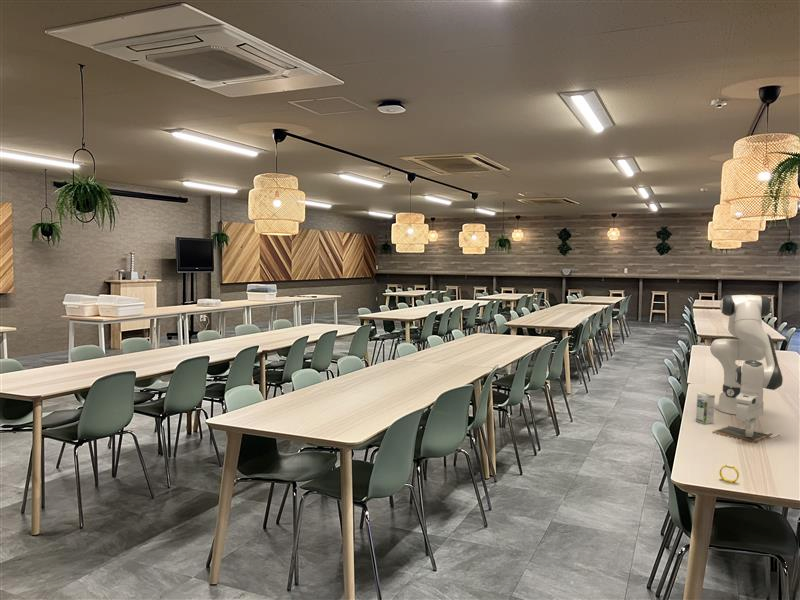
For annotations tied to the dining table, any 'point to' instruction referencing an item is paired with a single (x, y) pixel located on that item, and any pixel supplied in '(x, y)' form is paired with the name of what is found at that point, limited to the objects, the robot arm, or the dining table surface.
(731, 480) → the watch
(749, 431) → the small white bottle
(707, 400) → the syrup box
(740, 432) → the brown slatted mat
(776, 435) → the word card
